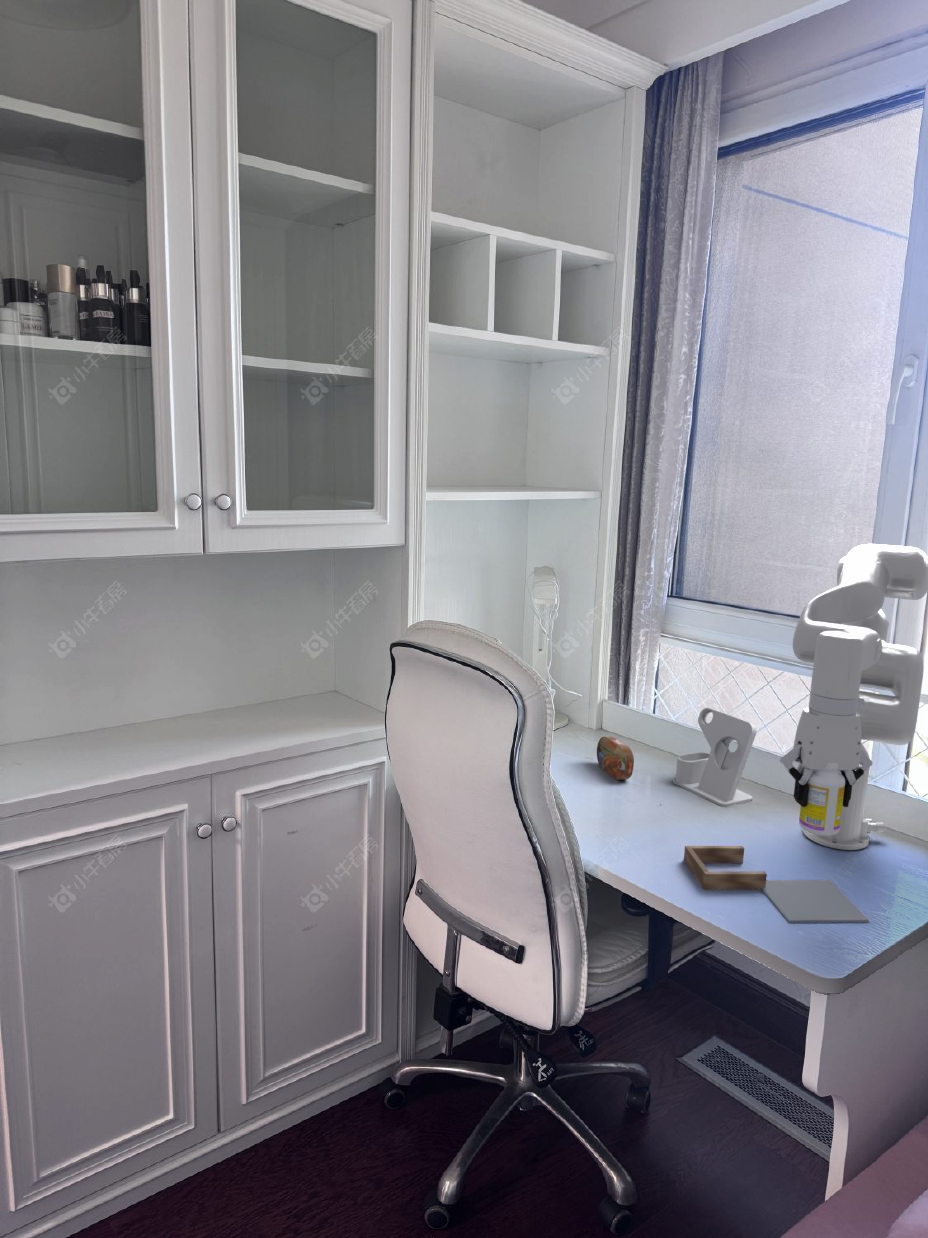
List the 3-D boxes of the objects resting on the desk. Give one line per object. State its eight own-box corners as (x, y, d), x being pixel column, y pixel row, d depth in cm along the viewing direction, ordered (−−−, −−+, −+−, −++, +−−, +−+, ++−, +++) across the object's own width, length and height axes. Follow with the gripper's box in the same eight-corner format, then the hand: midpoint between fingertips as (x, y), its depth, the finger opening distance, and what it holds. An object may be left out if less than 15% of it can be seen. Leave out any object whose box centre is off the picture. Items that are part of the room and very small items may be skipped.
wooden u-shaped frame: (740, 860, 167) (742, 846, 166) (765, 889, 156) (766, 874, 155) (683, 860, 166) (684, 846, 166) (703, 889, 155) (705, 874, 154)
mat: (828, 882, 160) (829, 880, 159) (868, 922, 146) (869, 920, 146) (755, 882, 158) (755, 880, 158) (788, 922, 145) (789, 920, 145)
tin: (594, 763, 218) (596, 732, 216) (606, 763, 219) (608, 731, 217) (622, 785, 204) (625, 751, 202) (634, 784, 205) (637, 750, 203)
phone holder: (669, 781, 208) (675, 709, 204) (700, 775, 213) (707, 705, 209) (723, 807, 193) (730, 730, 190) (755, 800, 198) (763, 725, 194)
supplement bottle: (828, 821, 153) (837, 752, 151) (846, 837, 146) (855, 765, 144) (791, 820, 153) (799, 751, 150) (807, 836, 146) (816, 764, 144)
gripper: (870, 699, 150) (858, 796, 153) (773, 697, 148) (763, 795, 152) (894, 711, 142) (881, 813, 146) (793, 710, 141) (782, 812, 144)
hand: (821, 803), depth 149 cm, fingers closed on supplement bottle, 6 cm apart
